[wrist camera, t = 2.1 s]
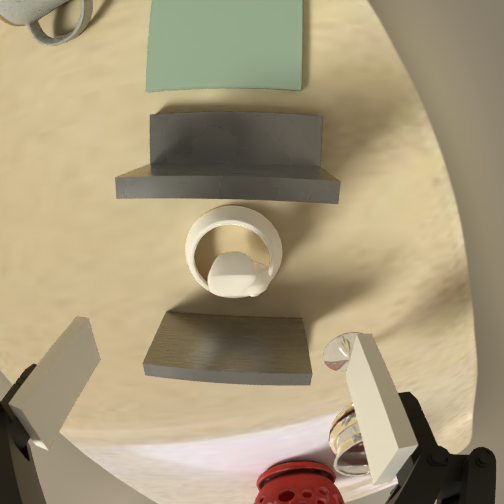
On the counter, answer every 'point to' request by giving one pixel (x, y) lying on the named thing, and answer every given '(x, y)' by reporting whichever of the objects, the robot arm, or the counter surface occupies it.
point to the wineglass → (345, 416)
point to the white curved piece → (235, 254)
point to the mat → (224, 45)
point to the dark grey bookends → (232, 187)
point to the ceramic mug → (34, 8)
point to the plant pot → (298, 485)
